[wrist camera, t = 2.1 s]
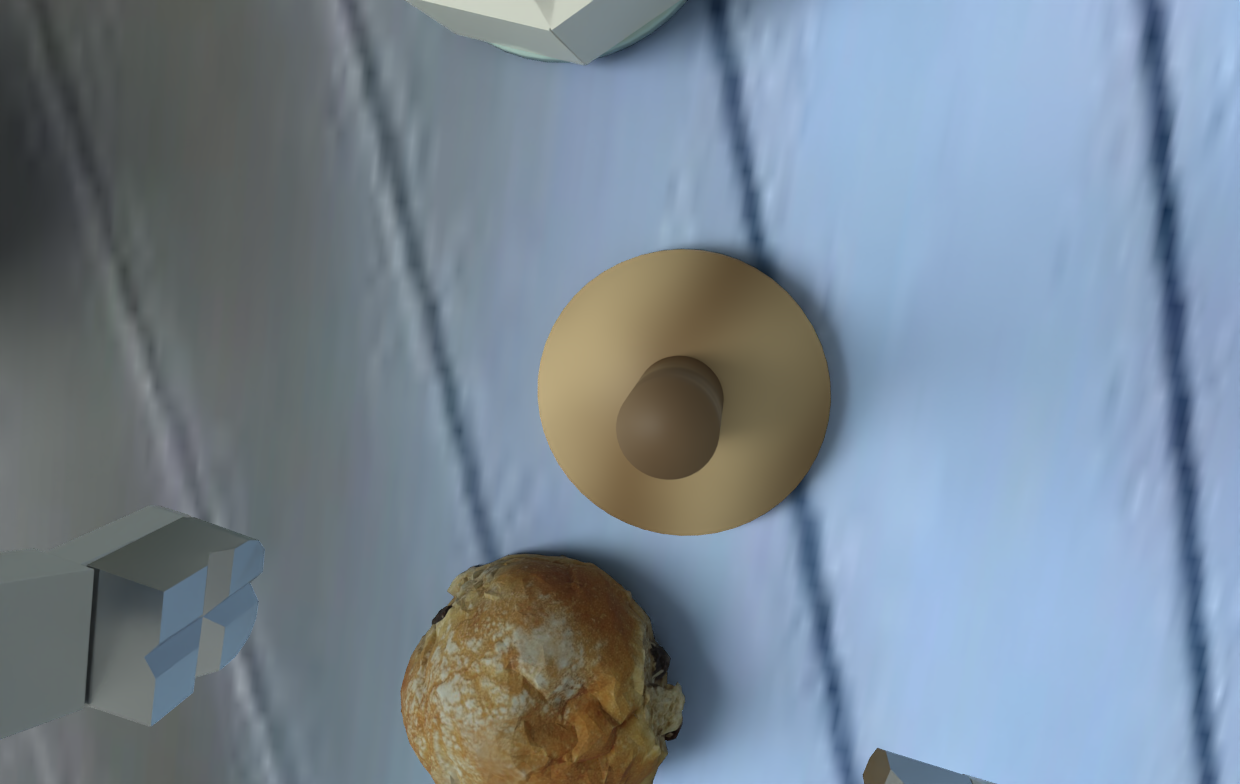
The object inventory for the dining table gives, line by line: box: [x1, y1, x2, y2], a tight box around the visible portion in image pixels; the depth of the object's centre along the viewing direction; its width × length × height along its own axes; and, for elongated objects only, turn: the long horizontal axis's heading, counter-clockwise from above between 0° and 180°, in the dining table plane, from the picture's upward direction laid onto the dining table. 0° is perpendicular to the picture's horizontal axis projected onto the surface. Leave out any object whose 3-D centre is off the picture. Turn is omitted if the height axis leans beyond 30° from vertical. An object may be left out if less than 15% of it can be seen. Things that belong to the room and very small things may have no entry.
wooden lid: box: [538, 249, 831, 536], centre depth 24 cm, size 10×10×5 cm
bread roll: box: [401, 554, 685, 784], centre depth 27 cm, size 10×10×8 cm
